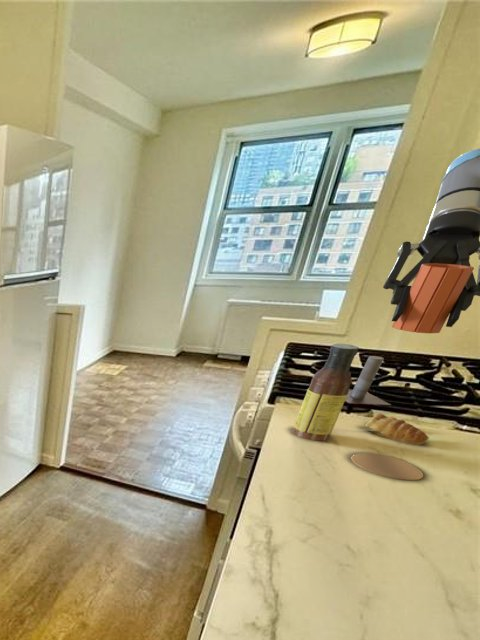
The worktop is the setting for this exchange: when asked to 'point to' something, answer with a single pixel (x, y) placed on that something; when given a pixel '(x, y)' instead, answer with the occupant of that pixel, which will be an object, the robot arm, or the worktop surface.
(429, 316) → the orange grooved cup
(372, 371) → the post stand
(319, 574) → the worktop surface
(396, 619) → the worktop surface
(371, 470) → the cork coaster
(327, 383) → the sauce bottle
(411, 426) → the pastry
